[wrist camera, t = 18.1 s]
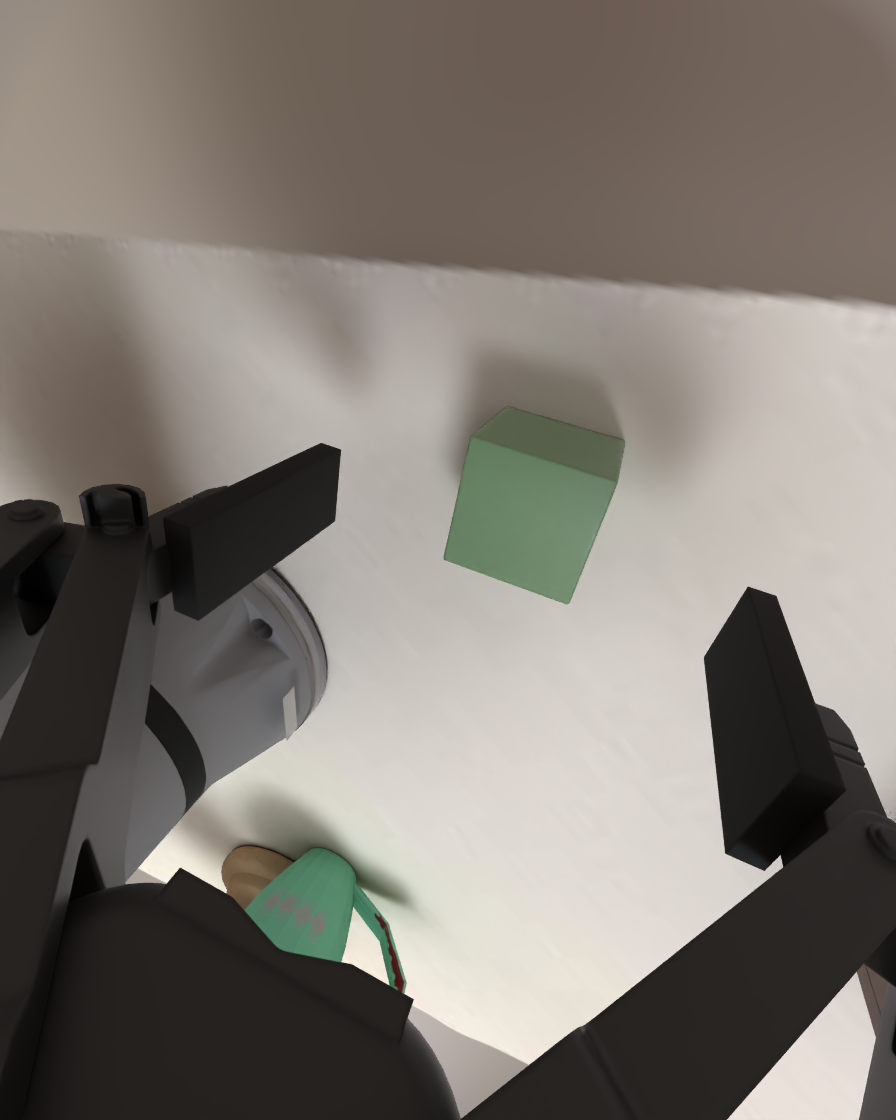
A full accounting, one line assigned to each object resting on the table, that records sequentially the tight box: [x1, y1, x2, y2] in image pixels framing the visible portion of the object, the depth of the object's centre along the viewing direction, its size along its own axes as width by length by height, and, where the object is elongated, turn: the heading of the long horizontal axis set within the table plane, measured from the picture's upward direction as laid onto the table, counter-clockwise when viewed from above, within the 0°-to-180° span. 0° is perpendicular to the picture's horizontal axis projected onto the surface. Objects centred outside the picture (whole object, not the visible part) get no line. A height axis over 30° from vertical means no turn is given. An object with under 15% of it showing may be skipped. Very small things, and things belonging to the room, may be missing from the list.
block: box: [444, 407, 625, 604], centre depth 20 cm, size 5×5×5 cm
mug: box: [244, 848, 406, 994], centre depth 39 cm, size 15×10×10 cm
